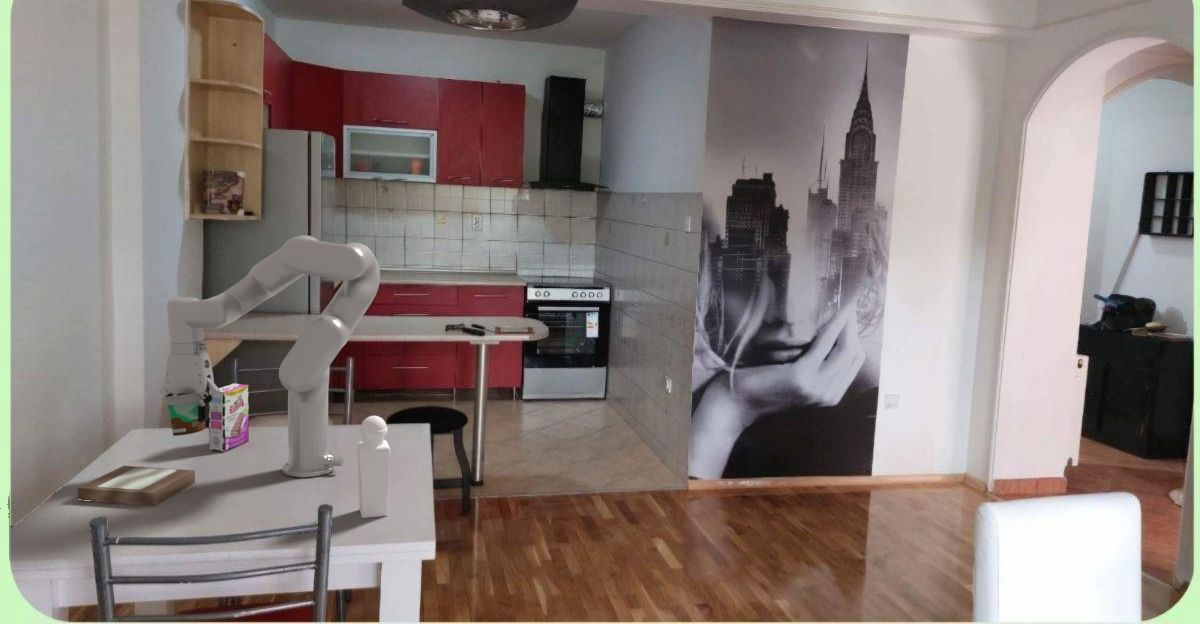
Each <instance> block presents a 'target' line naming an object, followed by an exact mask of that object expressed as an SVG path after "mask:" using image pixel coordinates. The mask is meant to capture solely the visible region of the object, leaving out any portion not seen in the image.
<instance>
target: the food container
mask: <svg viewBox="0 0 1200 624" xmlns="http://www.w3.org/2000/svg"><path fill="white" fill-rule="evenodd" d="M203 398H204V399H205V398H206V397H205V394H204V395H203ZM199 400H201V399H200V396H199V395H197V394H196V393H191V394H186V395H184V394H178V395H177V396H167V398H166V406H168V407H167V408H168V412H169V418H170V419H169V420H170V424H171V425H170V426H171V431H172V435H173V436H174V437H177V436H185V435H186V436H187V435H191V434H196V433H199V432H202V431H204V430H205V429H206V421H203V422H199V417H198V406H200V403H199Z"/></svg>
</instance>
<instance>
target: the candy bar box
mask: <svg viewBox="0 0 1200 624" xmlns="http://www.w3.org/2000/svg"><path fill="white" fill-rule="evenodd" d="M218 388H219V390H220V393H219V394H218V395H216V396H215V397H214V398H213V400H212V401H211V402H210V403H209V404H208V408H209V417H208V438H209V441H208V443H209V445H208V446H209V447H208V449H209V451H211V452H212V451H213V452H217V453H218V452H219V453H226V452H227V451H230V450H232V449H234V448H236V447H239V446H240V445H244V444H246V443H248V442H249V440H250V439H249V437H250V436H249V435H250V431H249V428H250V427H249V422H250V421H249V418H250V416H249V407H250V406H249V404H250V402H249V399H250V398H249V384H244V383H243V384H242V383H231V384H227V385H225V386H222V387H218ZM210 393H211V391H208V395H209V394H210Z"/></svg>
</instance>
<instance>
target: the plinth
mask: <svg viewBox="0 0 1200 624" xmlns="http://www.w3.org/2000/svg"><path fill="white" fill-rule="evenodd" d="M195 483H196V470H194V469H182V468H181V469H180V468H165V467H164V468H163V467H149V466H148V467H146V466H133V465H132V466H131V465H122V466H120V467H118V468H116V469H114V470H112V471H110V472H107V473H106V474H103V475H101V476H99V477H97V478H95V479H93V480H90V481H89V482H87V483H84V484H82V485H80V486H78V487H77V488H76V489H77V490H76V492H77V500H78V499H81V500H91V501H98V502H97V503H101V502H105V504H117V505H131V506H133V505H134V506H145V507H146V506H148V507H156V506H158V505H159V504H161V503H163V502H164V501H166V500H168V499H169V498H171V497H174V496H175V495H176V494H178V493H180V492H182V491H183V490H185V489H187V488H188V487H191V486H192V485H194V484H195Z"/></svg>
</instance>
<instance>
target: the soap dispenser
mask: <svg viewBox="0 0 1200 624" xmlns="http://www.w3.org/2000/svg"><path fill="white" fill-rule="evenodd" d="M388 430H389V429H388V426H387V424H386V421H385V420H384V419H383V418H382V417H380V416H378V415H370V416H368V417H365V419H364V420H363V421H362V422H361V424H360V428H359V434H360V435H361V437H362V440H363V441H359V442H357V443H356V450H357V473H358V475H357V476H358V477H357V479H358V499H359V501H358V502H359V503H358V504H359V505H358V506H359V511H360V517H361V519H368V518H378V517H386V516H387V517H388V515H389V502H390V501H389V499H390V473H391V472H390V471H391V448H390V445H389V443H388V441H387V440H386V439H385V437H386V434H387V433H388V432H389V431H388Z"/></svg>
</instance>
